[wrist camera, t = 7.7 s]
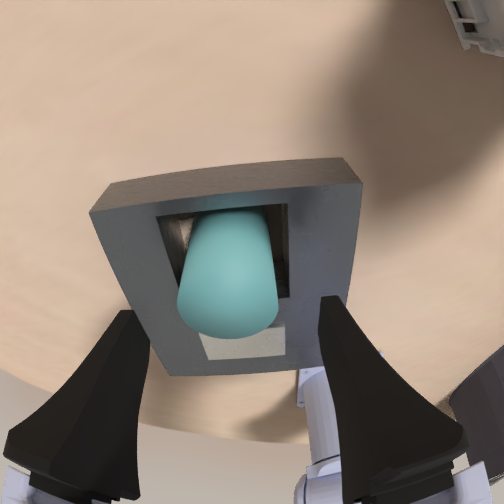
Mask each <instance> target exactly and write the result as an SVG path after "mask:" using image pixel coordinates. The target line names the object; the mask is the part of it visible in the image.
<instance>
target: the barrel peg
mask: <svg viewBox="0 0 504 504" xmlns="http://www.w3.org/2000/svg"><path fill="white" fill-rule="evenodd" d="M278 307H279V306H278V297H277V289H276V281H275V273H274V266H273V258H272V251H271V243H270V236H269V229H268V222H267V217H266V214H265V212H264V210H263V209H262V207H261V206H260V205H257V206H246V207H235V208H225V209H216V210H207V211H198V212H197V213H196V216H195V219H194V224H193V228H192V232H191V236H190V241H189V245H188V250H187V254H186V259H185V264H184V268H183V273H182V278H181V283H180V288H179V293H178V298H177V309H178V312H179V314H180V316H181V318H182V319H183V321H184V322H185V323H186V324H187V325H188V326H189V327H191V328H192V329H194V330H195V331H197V332H199V333H201V334H204V335H207V336H210V337H214V338H219V339H239V338H245V337H249V336H252V335H255V334H257V333H259V332H261V331H263V330H264V329H266V328H267V327H268V326H269V325H270V324H271V323H272V322H273V321H274V319H275V317H276V315H277V313H278Z"/></svg>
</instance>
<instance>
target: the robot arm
mask: <svg viewBox="0 0 504 504" xmlns="http://www.w3.org/2000/svg"><path fill="white" fill-rule="evenodd" d="M317 331H318V338H319V344H320V351H321V356H322V360H323V364H324V366H322V367H314V368H306V369H299V379H298V392H297V407H305V410H306V418H307V425H308V433H309V442H310V450H311V458H312V465H311V466H307V467H306V472H307V474H304V475H303V476H302V477H301V478H300V480H299V482H298V483H297V485H296V487H295V491H294V504H493V501H492V496H491V491H490V486H489V482H488V477H487V473H486V469H485V465H484V461H480V462H478V463H476V464H474V465H472V466H470V467H468V468H466V469H464V470H462V471H460V472H458V473H456V474H454V475H452V473H451V469H453V468H454V465H453V460H454V459H455V458H457V457H459V456H460V455H462V454H464V453H465V452H467V451H468V450H469V449H470V444H469V441H468V437H467V434H466V432H465V430H464V428H463V426H462V425H461V424H459V423H458V422H456V421H455V420H453V419H452V418H450V417H449V416H447V415H446V414H444V413H443V412H441V411H440V410H439V409H438V408H436V407H435V406H434V405H432V404H431V403H430V402H428V401H427V400H426V399H425V398H424V397H423V396H421V395H420V394H419V393H418V392H417V391H416V390H414V389H413V388H412V387H411V386H410V385H409V384H408V383H407V382H406V381H405V380H404V379H403V378H402V377H401V376H400V375H399V374H398V373H397V372H396V371H395V370H394V369H393V368H392V367H391V366H390V365H389V364H388V362H387V361H386V360H385V359H384V353H383V352H378V351H377V350H376V348H375V347H374V346H373V345H372V343H371V342H370V341H369V339H368V338H367V337H366V335H365V334H364V333H363V331H362V330H361V329H360V327H359V326H358V325H357V323H356V322H355V320H354V319H353V317H352V316H351V314H350V313H349V311H348V310H347V308H346V307H345V305H344V304H343V302H342V300H341V299H340V297H339V296H338V295H332V296H323V297H321V302H320V312H319V321H318V330H317ZM149 353H150V339H149V337H148V336H147V334H146V332H145V330H144V328H143V326H142V325H141V323H140V321H139V319H138V317H137V315H136V313H135V311H134V310H121V311H120V312H119V313H118V314H117V316H116V317H115V318H114V320H113V321H112V323H111V324H110V325H109V327H108V328H107V330H106V331H105V332H104V334H103V335H102V337H101V338H100V339H99V341H98V342H97V343H96V345H95V346H94V348H93V349H92V350H91V352H90V353H89V354H88V356H87V357H86V358H85V359H84V361H83V362H82V363H81V365H80V366H79V367H78V369H77V370H76V371H75V372H74V373H73V375H72V376H71V377H70V378H69V379H68V380H67V381H66V383H65V384H64V385H63V386H62V387H61V388H60V389H59V390H58V391H57V392H56V393H55V394H54V395H53V396H52V397H51V398H50V399H49V400H48V401H47V402H46V403H45V404H44V405H42V406H41V407H40V408H39V409H38V410H37V411H35V412H34V413H33V414H32V415H30V416H29V417H28V418H27V419H25V420H24V421H22V422H21V423H19V424H18V425H16V426H15V427H14V428H12V429H11V430H9V433H8V436H7V440H6V444H5V448H4V452H3V455H4V457H6V458H7V459H9V460H11V461H12V462H14V463H16V464H18V465H20V466H22V467H24V468H26V469H28V470H30V471H31V474H30V475H28V474H25V473H23V472H21V471H19V470H17V469H15V468H13V467H11V466H8V467H7V473H6V477H5V483H4V489H3V495H2V503H1V504H111V500H114V501H120V498H125V499H129V500H137V499H138V498H139V497H140V496H141V495H140V489H139V479H138V467H137V428H138V416H139V409H140V403H141V398H142V393H143V388H144V383H145V378H146V373H147V368H148V363H149Z"/></svg>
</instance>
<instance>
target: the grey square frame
mask: <svg viewBox="0 0 504 504" xmlns="http://www.w3.org/2000/svg"><path fill="white" fill-rule="evenodd" d="M362 187H363V183H362V182H361V180H360V179H359V178H358V176H357V175H356V174H355V173H354V171H353V170H352V169H351V168H350V166H349V165H348V164H347V163H346V161H345V160H344V159H343V158H321V159H302V160H286V161H272V162H260V163H249V164H239V165H230V166H221V167H212V168H204V169H196V170H189V171H182V172H175V173H168V174H162V175H156V176H149V177H144V178H138V179H132V180H127V181H121V182H116V183H111V184H110V185H109V187H108V188H107V189H106V190H105V192H104V193H103V194H102V195H101V197H100V198H99V199H98V201H97V202H96V203H95V205H94V206H93V207H92V209H91V210H90V211H89V215H90V218H91V220H92V223H93V225H94V228H95V230H96V233H97V235H98V237H99V240H100V242H101V244H102V247H103V249H104V251H105V254H106V256H107V258H108V260H109V263H110V265H111V267H112V269H113V271H114V274H115V276H116V278H117V280H118V282H119V284H120V286H121V288H122V290H123V292H124V294H125V296H126V298H127V300H128V302H129V304H130V306H131V308H132V310H134V311H135V313H136V315H137V317H138V319H139V321H140V323H141V325H142V326H143V328H144V330H145V332H146V334H147V336H148V337H149V339H150V343H151V345H152V347H153V348H154V350H155V352H156V354H157V355H158V357H159V359H160V360H161V362H162V364H163V365H164V367H165V369H166V370H167V372H168V373H169V375H170V376H210V375H235V374H252V373H266V372H278V371H288V370H297V369H306V368H314V367H322V366H324V364H323V360H322V356H321V351H320V344H319V338H318V331H317V330H318V321H319V312H320V302H321V297H323V296H332V295H338V296H339V297H340V299H341V300H342V302H343V304H344V305H345V307H346V302H347V297H348V291H349V285H350V279H351V273H352V267H353V261H354V254H355V247H356V240H357V232H358V224H359V216H360V207H361V197H362ZM280 203H281V206H282V229H283V257H284V261H280V262H273V266H274V273H275V281H276V289H277V297H278V306H279V307H278V313H277V315H276V317H275V319H274V321H273V322H272V323H271V324H270V325H269V326H268V327H267V328H266V329H264V330H263V331H261V332H259V333H257V334H255V335H252V336H249V337H245V338H239V339H219V338H214V337H210V336H207V335H204V334H201V333H199V332H197V331H195V330H194V329H192V328H191V327H189V326H188V325H187V324H186V323H185V322H184V321H183V319H182V318H181V316H180V314H179V312H178V309H177V298H178V293H179V288H180V283H181V278H182V273H183V268H184V264H185V259H186V254H187V253H186V249H185V245H184V242H183V238H182V234H181V230H180V227H179V223H178V219H177V215H176V214H180V213H189V212H198V211H207V210H216V209H225V208H235V207H246V206H257V205H268V204H280Z"/></svg>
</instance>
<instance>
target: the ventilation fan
mask: <svg viewBox="0 0 504 504" xmlns="http://www.w3.org/2000/svg"><path fill="white" fill-rule="evenodd" d="M449 405H450V406H451V407H452V409H453V412H454V415H455V418H456V421H457V422H458V423H459V424H461V425H462V426H463V428H464V430H465V432H466V434H467V437H468V441H469V444H470V449H469V450H468V451H467V452H466V454H467V458H468V462H469V465H470V466H472V465H474V464H476V463H478V462H480V461H484V465H485V469H486V473H487V477H488V482H489V486H491V485H493V484H495V483H496V482H498V481H499V480H501V479H503V478H504V476H502V475H504V345H503V346H502V347H501V348H499V349H498V350H497V351H496V352H495V353H494V354H492V355H491V356H490V357H489V358H488V359H487V360H486V361H484V362H483V363H482V364H481V365H480V366H479V367H478V368H476V369H475V370H474V371H473V372H472V373H471V374H470V375H469V376H468V377H467V378H466V379H465V380H464V381H463V382H462V383H461V384H460V385H459V386H458V388H457V389H456V390H455V391H454V393H453V394H452V395H451V397H450V400H449ZM498 475H499V476H498ZM495 476H497V477H495ZM500 476H501V477H500ZM493 477H495V478H493ZM498 477H499V478H498ZM491 478H493V479H491ZM496 478H497V479H496ZM490 479H491V480H490ZM494 479H495V480H494ZM492 482H493V483H492ZM490 483H491V484H490Z"/></svg>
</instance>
